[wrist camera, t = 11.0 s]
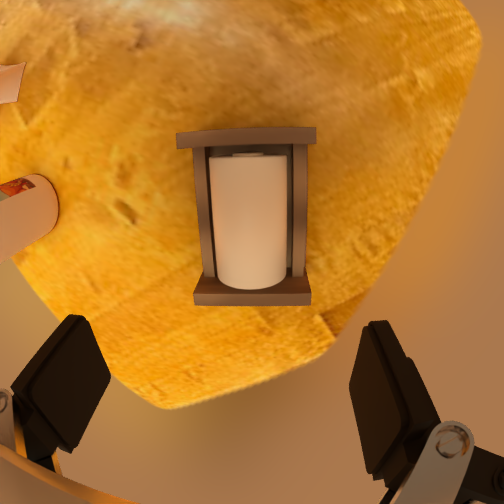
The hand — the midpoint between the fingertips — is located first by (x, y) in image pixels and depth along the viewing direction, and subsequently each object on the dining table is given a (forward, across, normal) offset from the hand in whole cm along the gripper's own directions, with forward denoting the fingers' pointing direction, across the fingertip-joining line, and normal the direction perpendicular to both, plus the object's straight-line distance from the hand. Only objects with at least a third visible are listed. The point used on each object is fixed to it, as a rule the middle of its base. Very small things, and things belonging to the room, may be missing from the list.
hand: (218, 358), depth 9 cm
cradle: (+20, 0, 0) cm, 20 cm away
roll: (+19, 0, 0) cm, 19 cm away
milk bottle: (+20, +26, -2) cm, 33 cm away
